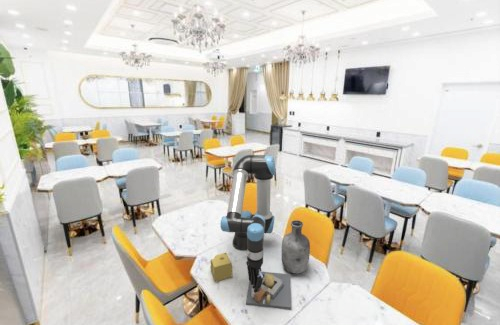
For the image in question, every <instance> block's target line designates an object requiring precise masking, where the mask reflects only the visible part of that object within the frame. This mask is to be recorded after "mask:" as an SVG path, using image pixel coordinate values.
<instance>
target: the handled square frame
mask: <svg viewBox="0 0 500 325" xmlns="http://www.w3.org/2000/svg"><path fill="white" fill-rule="evenodd" d="M265 272H266V273H265V274H264V276H266V275H267V274H269V273H267V272H268V271H265ZM264 284H265V277H264V278H263V281H262V285H261V287H260V288H258V291H259V292H258V293H257V294H256V295H255V301H257V302H258V303H260V302H261V300H262V299H263V298H264V297H265V296H266V295H268V294H269V295H270V297H271V298H272V299H273V298H274V297H275V296H276V294H277V293H278V292H279V291H280V289H281V288H282V287H283V285H284V281H283V280H281V279H279V278H277V277H275V276H274V284H275V285H274V287H273V288H272V289H270V288H268V287H266V286H265V285H264Z"/></svg>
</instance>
